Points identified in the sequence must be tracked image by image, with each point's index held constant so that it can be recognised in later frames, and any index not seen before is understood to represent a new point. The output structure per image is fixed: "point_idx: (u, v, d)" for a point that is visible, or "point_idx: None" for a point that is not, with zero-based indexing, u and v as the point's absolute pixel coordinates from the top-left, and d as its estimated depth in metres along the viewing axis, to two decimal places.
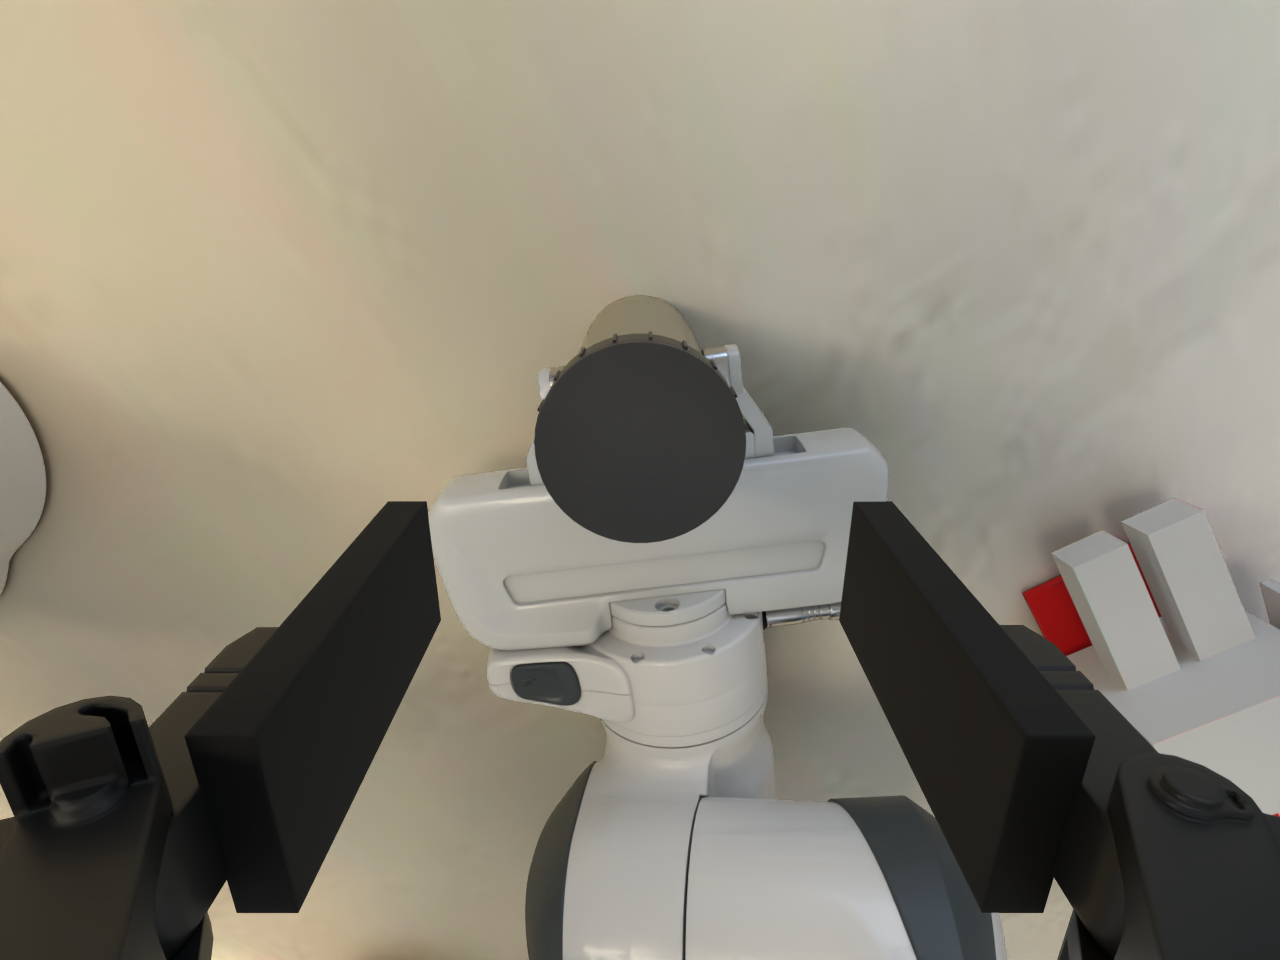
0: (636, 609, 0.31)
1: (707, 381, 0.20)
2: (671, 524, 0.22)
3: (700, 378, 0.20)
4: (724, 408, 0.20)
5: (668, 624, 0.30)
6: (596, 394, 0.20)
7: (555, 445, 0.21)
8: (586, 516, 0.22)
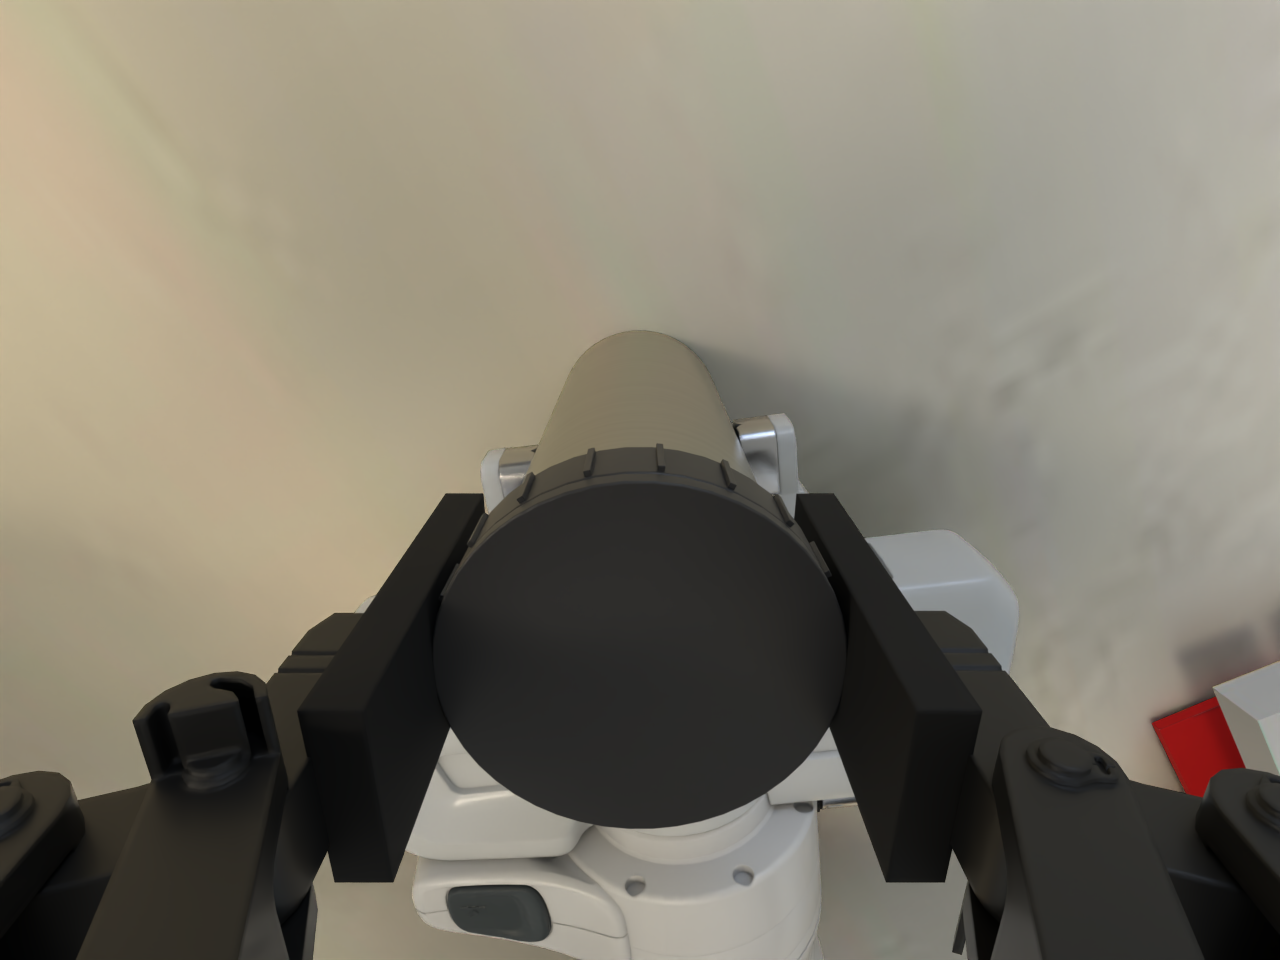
0: None
1: (776, 555, 0.10)
2: (698, 800, 0.12)
3: (762, 550, 0.10)
4: (808, 604, 0.10)
5: (682, 834, 0.20)
6: (551, 579, 0.10)
7: (473, 669, 0.11)
8: (538, 787, 0.11)
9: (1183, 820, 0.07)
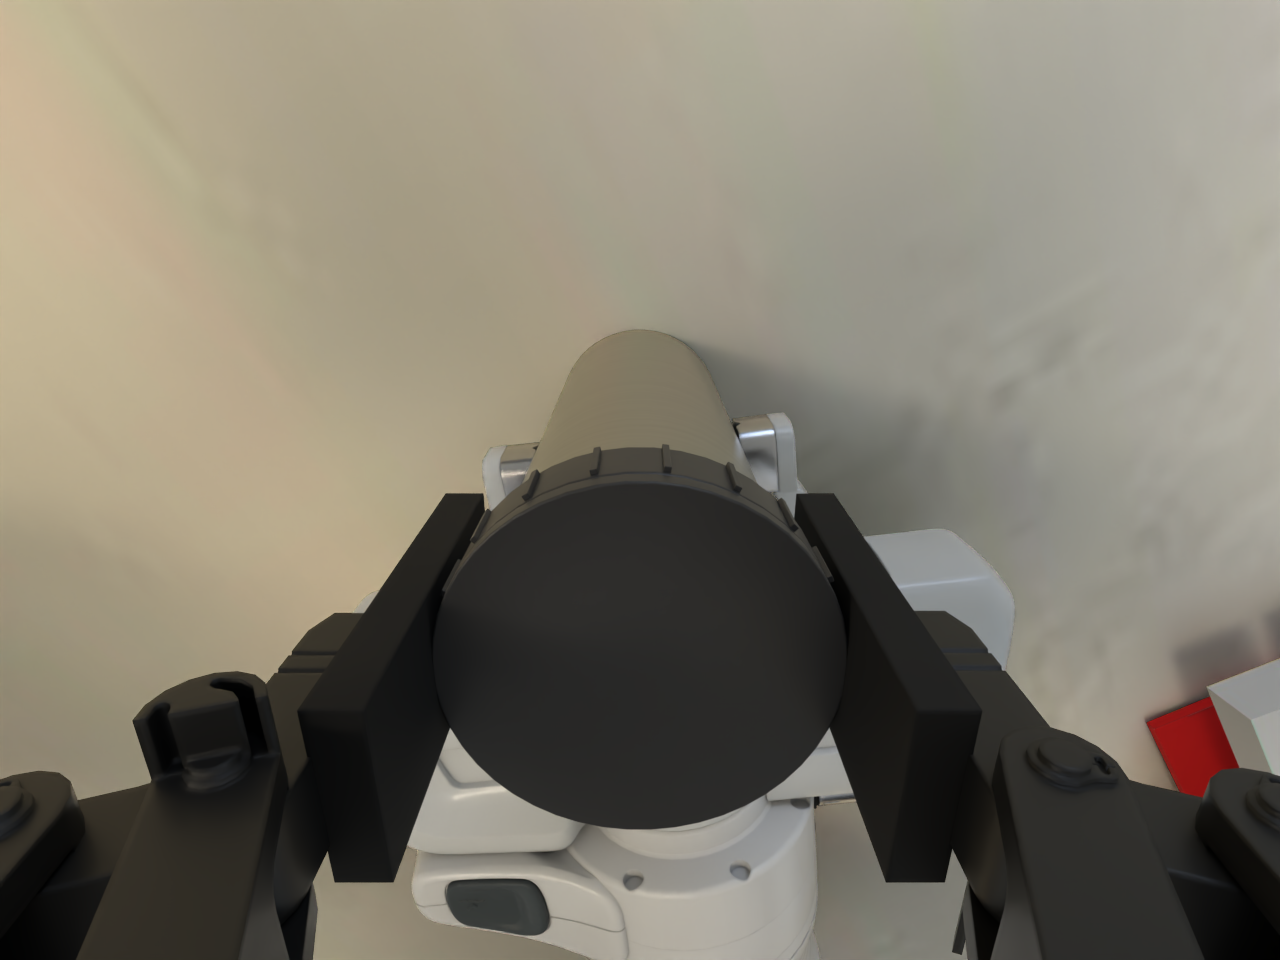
0: None
1: (461, 617, 0.10)
2: (776, 568, 0.10)
3: (463, 629, 0.10)
4: (495, 569, 0.10)
5: (679, 829, 0.20)
6: (574, 768, 0.11)
7: (692, 795, 0.11)
8: (812, 712, 0.11)
9: (1183, 820, 0.07)
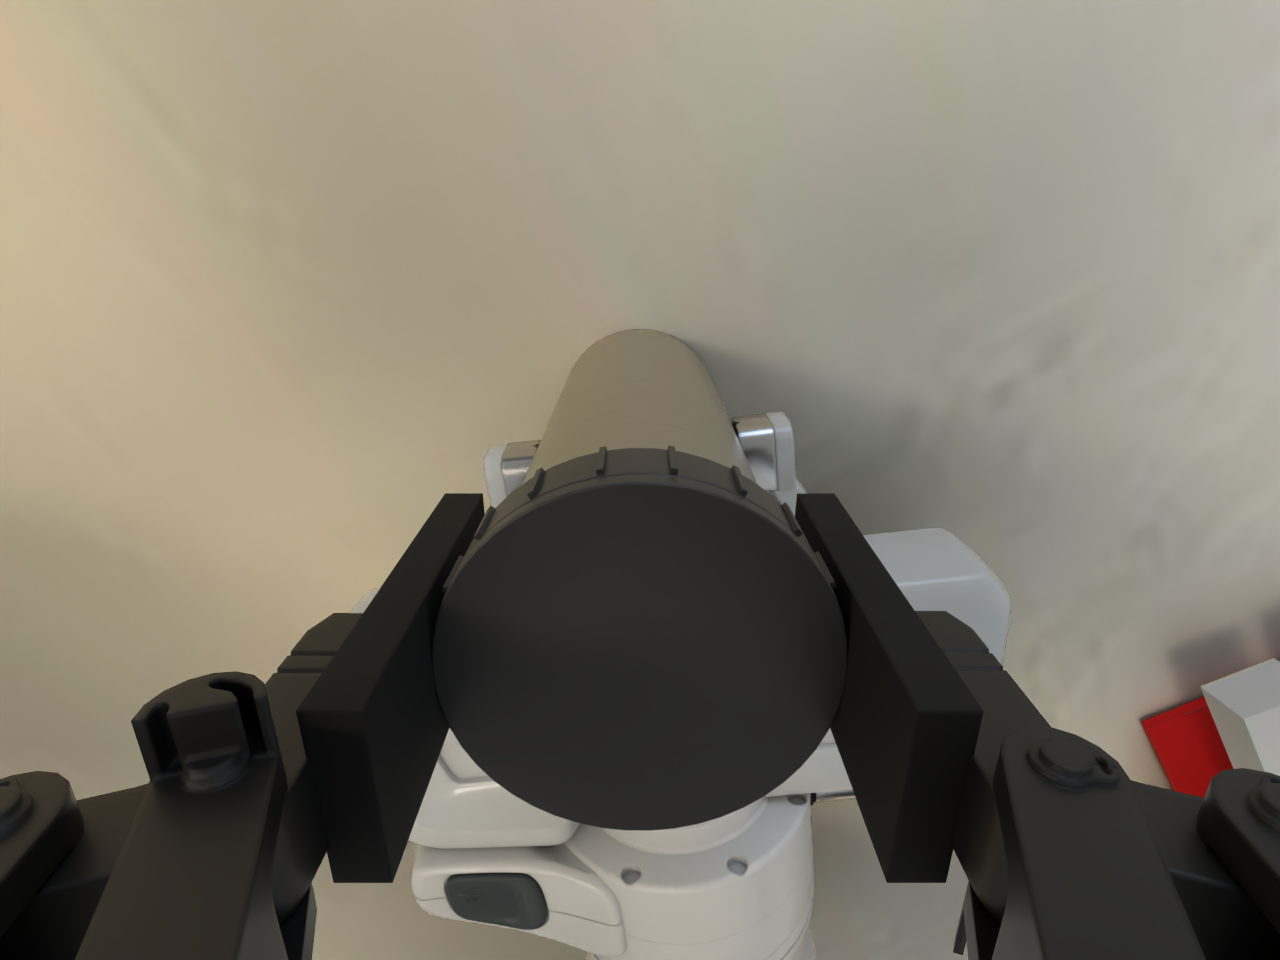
0: None
1: (641, 816, 0.12)
2: (473, 613, 0.10)
3: (653, 812, 0.12)
4: (584, 806, 0.12)
5: None
6: (774, 693, 0.11)
7: (771, 578, 0.10)
8: (614, 509, 0.10)
9: (1184, 820, 0.07)
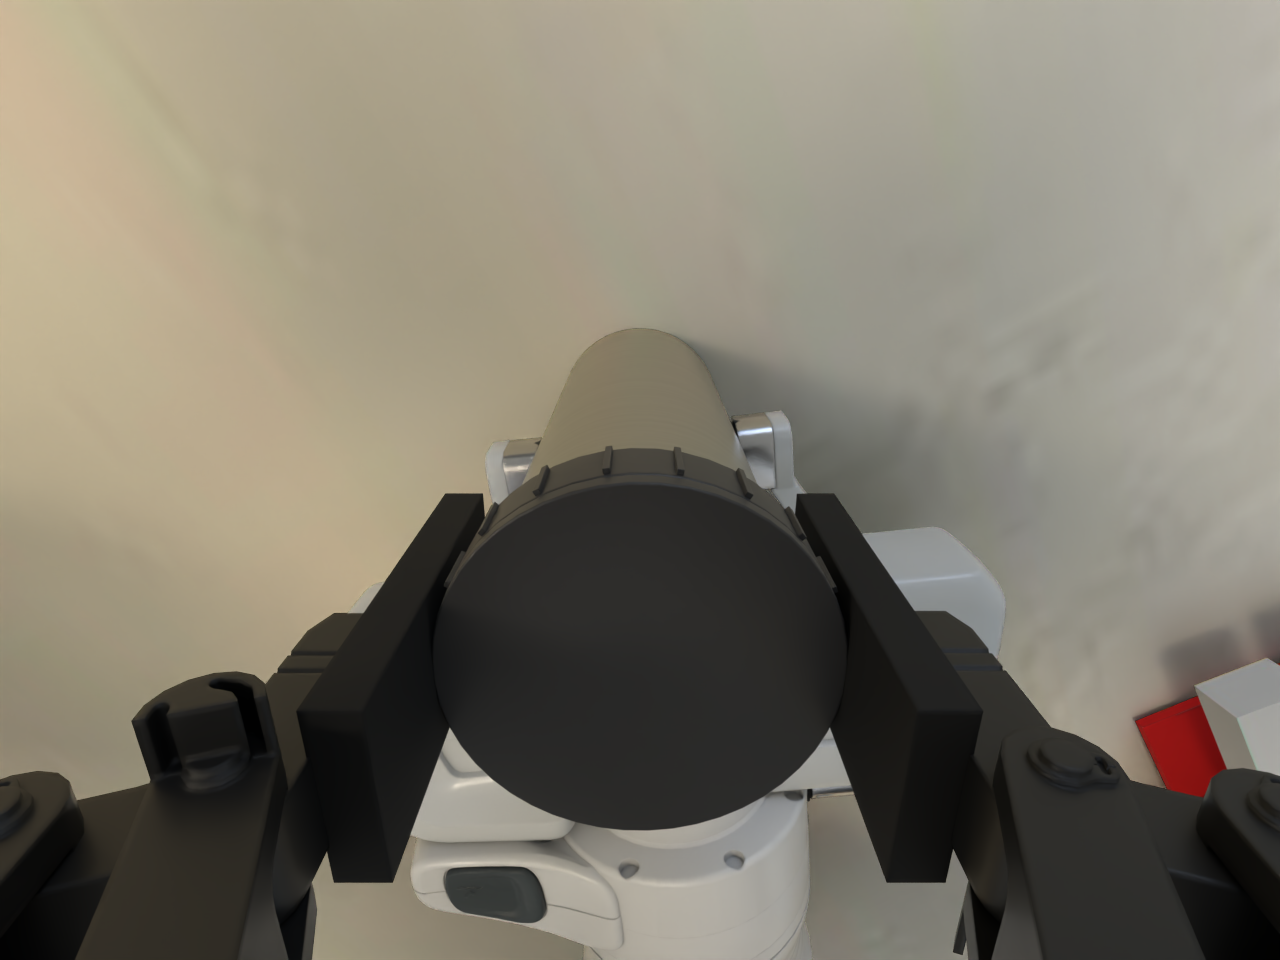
0: None
1: (816, 615, 0.10)
2: (632, 809, 0.12)
3: (807, 605, 0.10)
4: (821, 669, 0.11)
5: None
6: (605, 557, 0.10)
7: (484, 613, 0.10)
8: (487, 746, 0.11)
9: (1184, 820, 0.07)
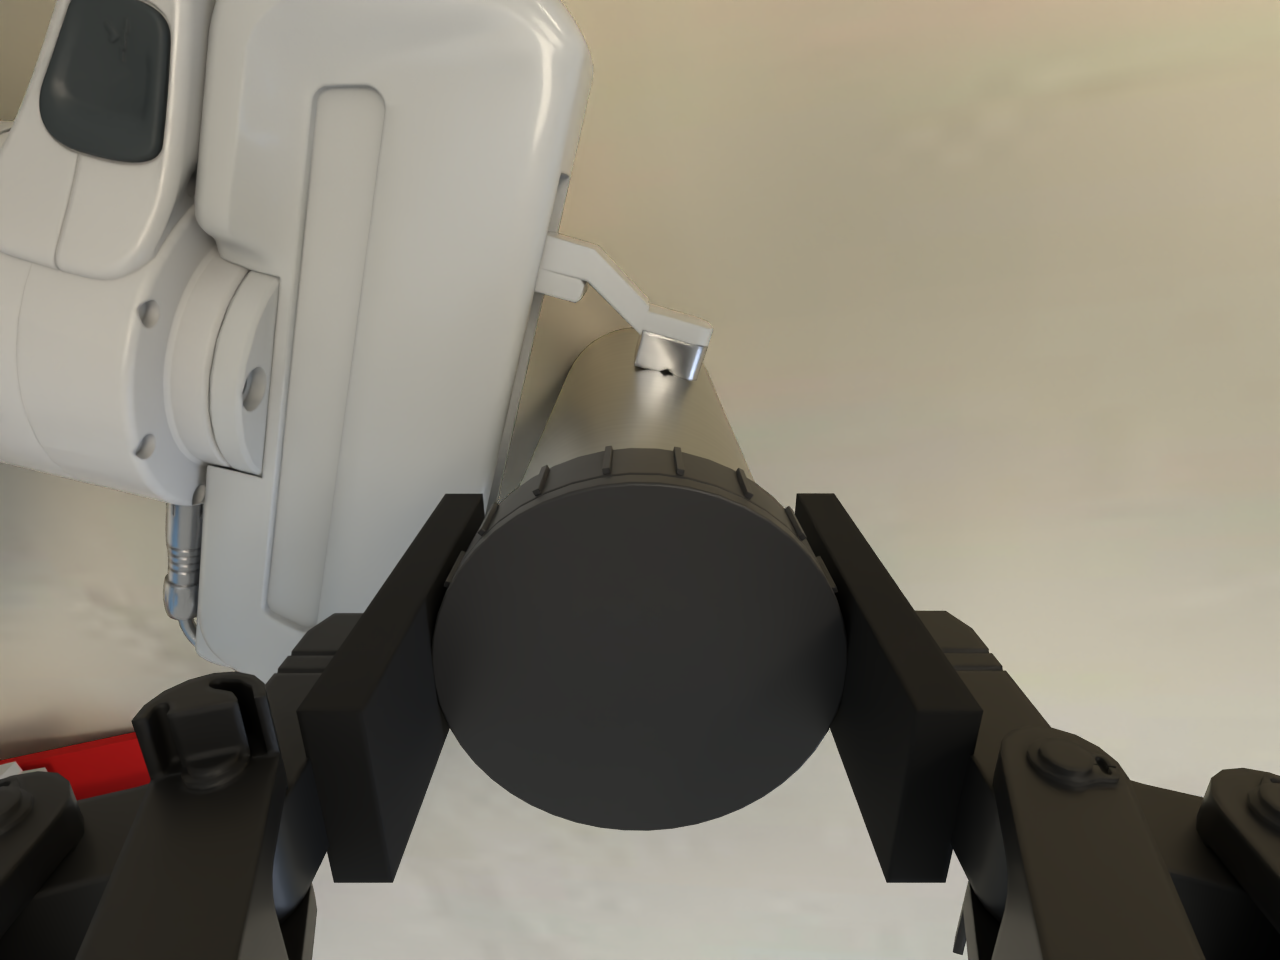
0: (256, 333, 0.16)
1: (816, 615, 0.10)
2: (632, 809, 0.12)
3: (807, 605, 0.10)
4: (821, 669, 0.11)
5: (213, 386, 0.16)
6: (605, 557, 0.10)
7: (484, 613, 0.10)
8: (487, 746, 0.11)
9: (1184, 820, 0.07)
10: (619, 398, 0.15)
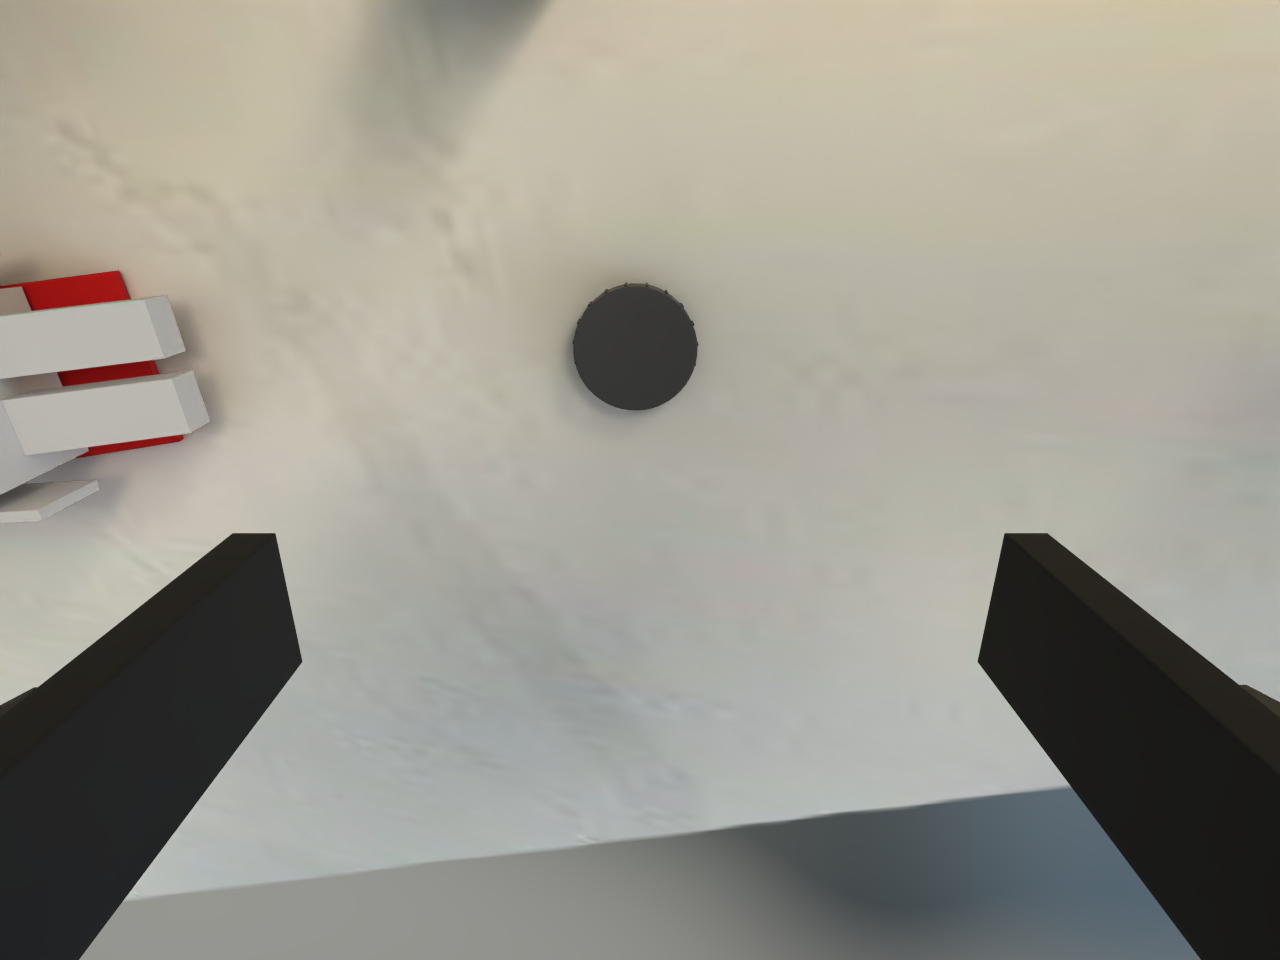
0: None
1: (686, 329, 0.35)
2: (633, 401, 0.37)
3: (683, 325, 0.35)
4: (689, 347, 0.36)
5: None
6: (625, 310, 0.35)
7: (590, 328, 0.35)
8: (588, 376, 0.36)
9: None
10: None
